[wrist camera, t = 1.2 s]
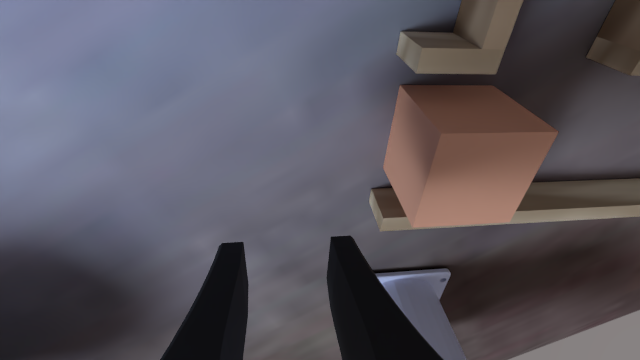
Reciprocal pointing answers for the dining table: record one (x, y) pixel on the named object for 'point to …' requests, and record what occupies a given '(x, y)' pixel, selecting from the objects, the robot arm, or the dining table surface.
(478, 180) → the block
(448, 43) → the trap lane
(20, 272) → the dining table surface
